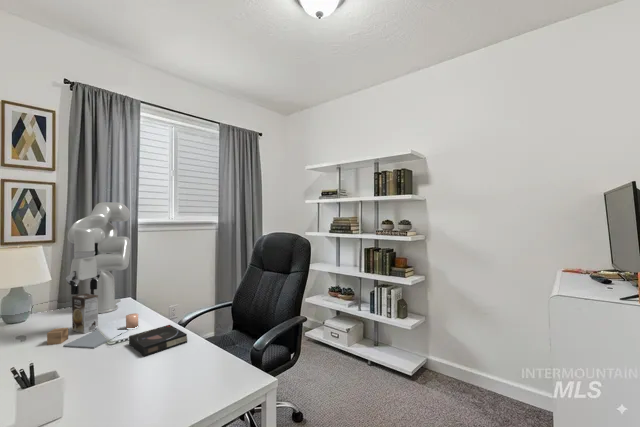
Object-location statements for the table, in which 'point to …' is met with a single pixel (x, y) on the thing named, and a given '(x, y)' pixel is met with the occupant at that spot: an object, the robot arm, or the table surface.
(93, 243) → the robot arm
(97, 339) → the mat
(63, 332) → the walnut block
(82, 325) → the coffee box
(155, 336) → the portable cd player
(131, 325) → the terracotta cylinder
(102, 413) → the table surface
